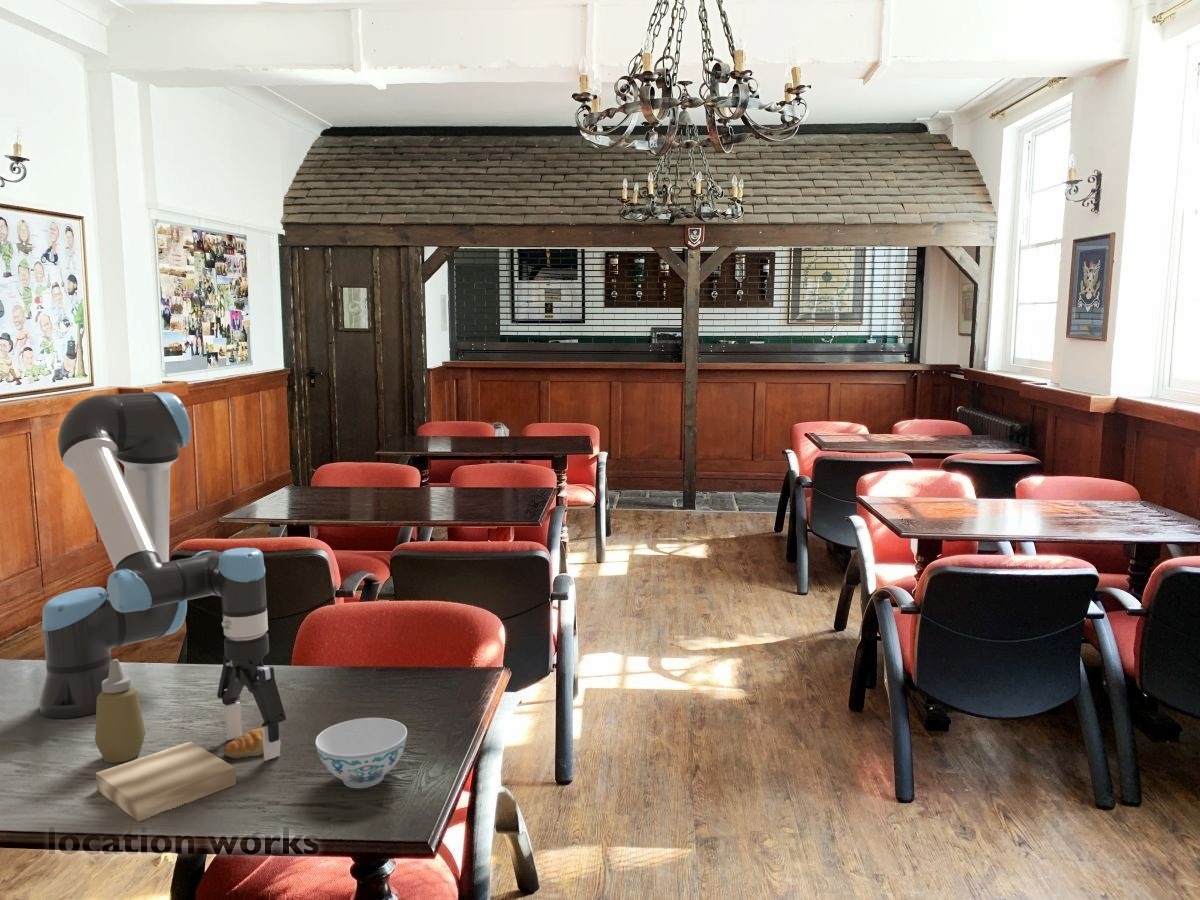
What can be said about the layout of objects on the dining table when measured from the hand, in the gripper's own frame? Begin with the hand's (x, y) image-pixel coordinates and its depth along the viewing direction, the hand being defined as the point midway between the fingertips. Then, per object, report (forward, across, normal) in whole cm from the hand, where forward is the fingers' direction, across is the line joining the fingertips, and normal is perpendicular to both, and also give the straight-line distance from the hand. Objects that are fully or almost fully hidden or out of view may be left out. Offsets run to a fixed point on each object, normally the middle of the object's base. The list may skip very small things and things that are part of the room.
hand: (252, 747), depth 171 cm
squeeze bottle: (0, -15, -17) cm, 23 cm away
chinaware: (0, +26, +6) cm, 27 cm away
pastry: (+1, +1, 0) cm, 1 cm away
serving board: (0, +3, -17) cm, 17 cm away
